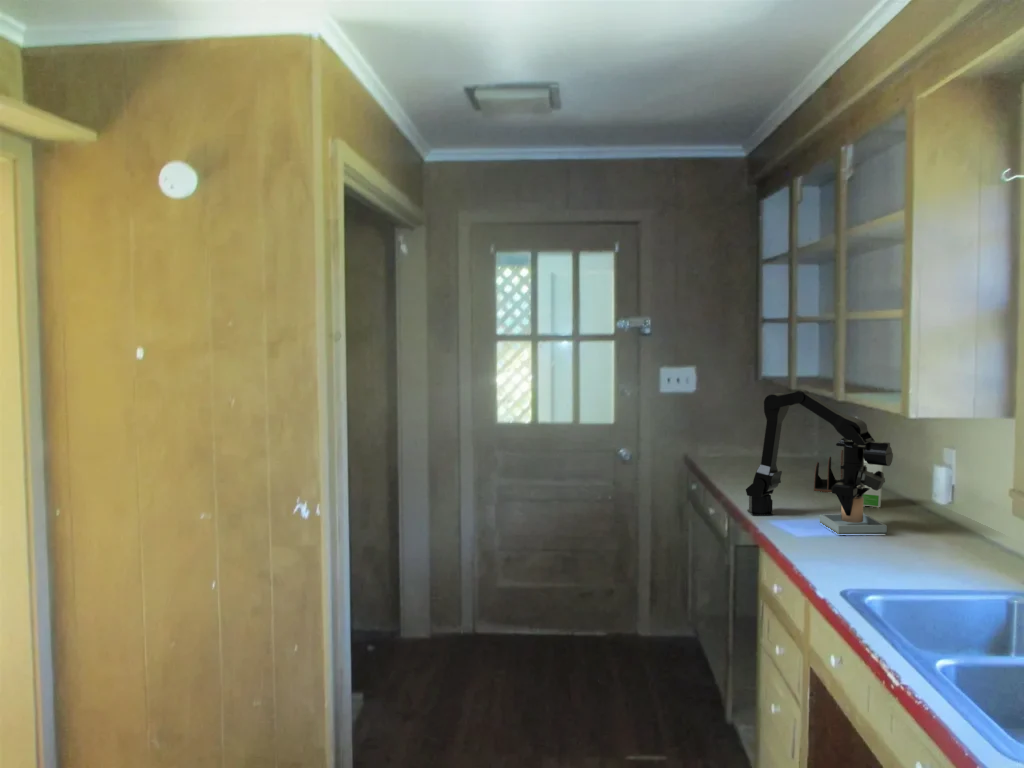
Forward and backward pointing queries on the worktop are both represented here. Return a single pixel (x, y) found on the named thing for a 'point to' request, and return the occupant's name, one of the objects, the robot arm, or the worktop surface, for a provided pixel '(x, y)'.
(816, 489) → the letter holder
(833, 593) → the worktop surface
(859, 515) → the terracotta cup
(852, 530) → the tray
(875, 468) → the skincare box
